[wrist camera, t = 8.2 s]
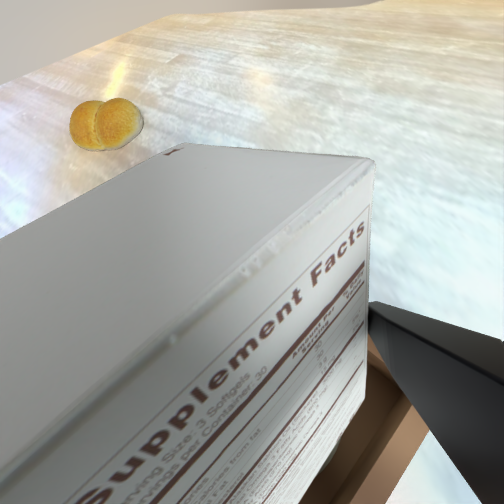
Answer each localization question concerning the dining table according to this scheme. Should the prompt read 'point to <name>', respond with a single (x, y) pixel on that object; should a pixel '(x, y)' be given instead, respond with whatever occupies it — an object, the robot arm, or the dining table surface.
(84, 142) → the bread roll
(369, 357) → the tray
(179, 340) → the supplement box
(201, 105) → the dining table surface
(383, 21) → the dining table surface
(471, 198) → the dining table surface
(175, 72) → the dining table surface
